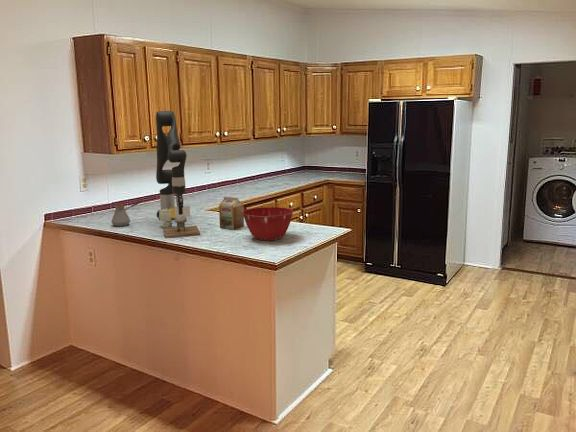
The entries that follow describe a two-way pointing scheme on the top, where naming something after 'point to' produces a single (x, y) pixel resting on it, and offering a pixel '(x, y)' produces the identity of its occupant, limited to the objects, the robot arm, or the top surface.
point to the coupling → (180, 218)
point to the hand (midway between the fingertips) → (180, 213)
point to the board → (177, 233)
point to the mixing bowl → (268, 222)
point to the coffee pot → (122, 215)
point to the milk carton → (231, 214)
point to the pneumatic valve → (165, 217)
